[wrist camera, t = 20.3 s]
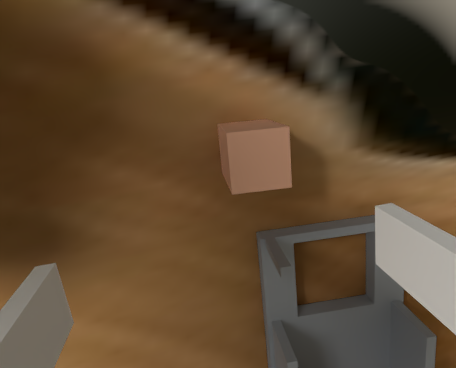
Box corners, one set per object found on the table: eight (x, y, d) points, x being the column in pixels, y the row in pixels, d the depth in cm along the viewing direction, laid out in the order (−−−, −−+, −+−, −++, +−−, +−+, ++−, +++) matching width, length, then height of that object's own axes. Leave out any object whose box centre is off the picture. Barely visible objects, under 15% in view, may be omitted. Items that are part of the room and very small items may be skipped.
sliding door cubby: (256, 232, 38) (274, 268, 30) (395, 211, 39) (447, 241, 32) (270, 387, 44) (288, 452, 36) (391, 364, 45) (435, 422, 37)
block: (217, 123, 35) (226, 133, 27) (266, 118, 35) (289, 126, 27) (222, 172, 36) (231, 194, 28) (269, 167, 36) (292, 187, 29)
